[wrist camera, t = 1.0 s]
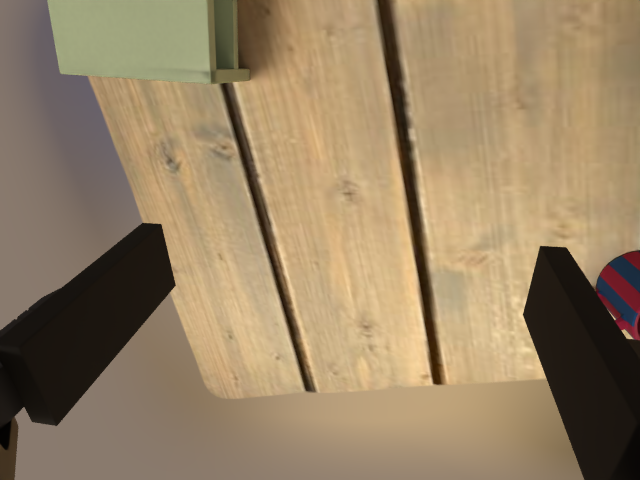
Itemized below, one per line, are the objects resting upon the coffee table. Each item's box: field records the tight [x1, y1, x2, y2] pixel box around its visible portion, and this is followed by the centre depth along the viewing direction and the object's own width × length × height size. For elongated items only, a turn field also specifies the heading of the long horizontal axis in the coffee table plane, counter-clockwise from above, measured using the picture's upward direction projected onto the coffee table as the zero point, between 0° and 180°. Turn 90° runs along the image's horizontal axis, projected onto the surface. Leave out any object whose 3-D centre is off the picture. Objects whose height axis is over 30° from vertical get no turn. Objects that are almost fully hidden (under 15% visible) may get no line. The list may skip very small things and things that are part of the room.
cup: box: [596, 251, 640, 340], centre depth 37 cm, size 7×10×7 cm
